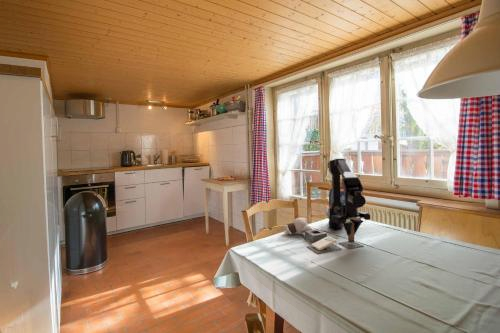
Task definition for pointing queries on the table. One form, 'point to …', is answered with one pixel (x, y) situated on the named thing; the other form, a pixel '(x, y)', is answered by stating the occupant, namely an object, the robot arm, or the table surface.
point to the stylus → (351, 234)
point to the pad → (351, 245)
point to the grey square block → (314, 235)
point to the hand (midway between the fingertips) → (351, 235)
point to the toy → (297, 226)
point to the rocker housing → (325, 249)
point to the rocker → (324, 243)
